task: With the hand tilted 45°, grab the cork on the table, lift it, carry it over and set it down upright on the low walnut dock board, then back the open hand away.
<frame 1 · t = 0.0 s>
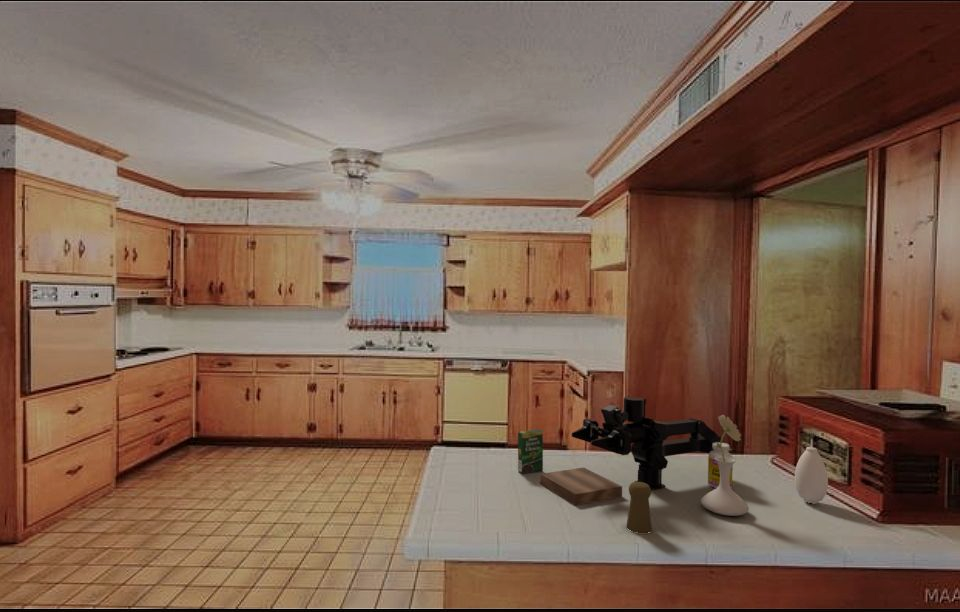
hand: (581, 438, 145), 17 cm above the counter, tool horizontal, fingers open, 9 cm apart
cork: (639, 529, 125), on the counter
supplement bottle: (719, 487, 155), on the counter
walnut dock: (579, 490, 151), on the counter
flower in vase: (723, 510, 138), on the counter
sauce bottle: (810, 503, 143), on the counter
coffee box: (530, 472, 167), on the counter
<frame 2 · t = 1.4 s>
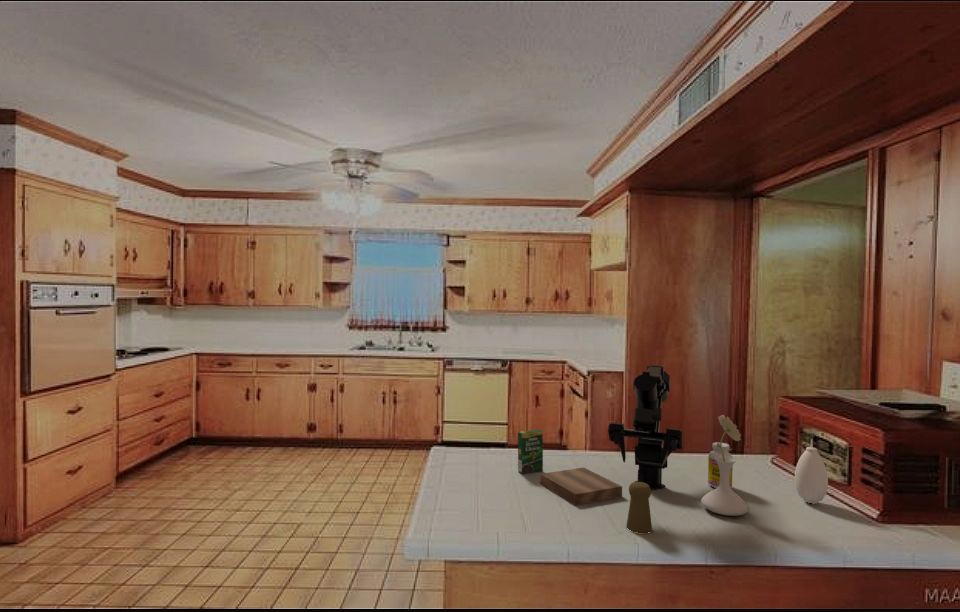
hand: (642, 464, 133), 13 cm above the counter, tool tilted 45°, fingers open, 9 cm apart
nothing on the counter moved.
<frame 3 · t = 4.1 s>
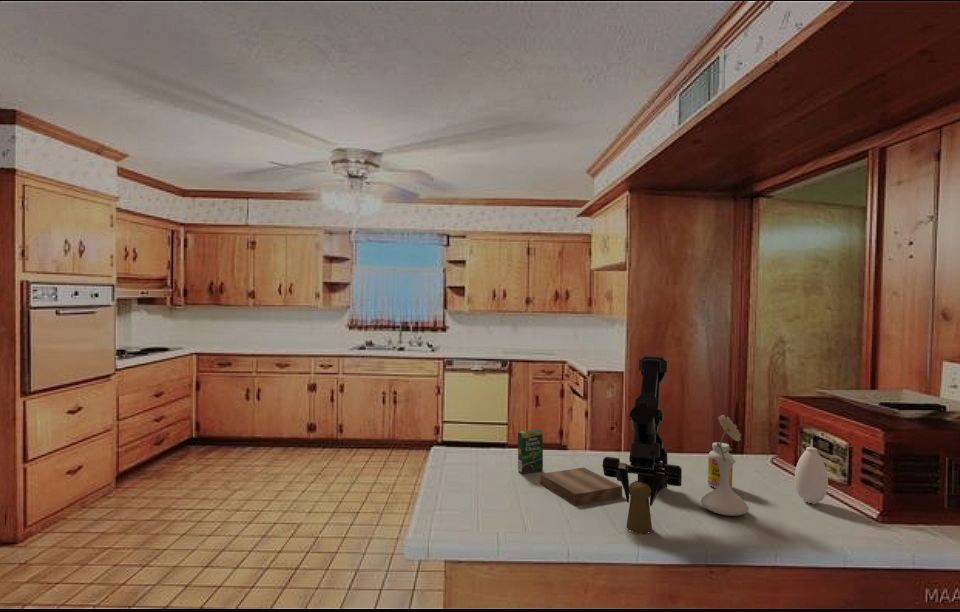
hand: (639, 503, 124), 7 cm above the counter, tool tilted 45°, fingers closed on cork, 5 cm apart
cork: (639, 529, 125), on the counter, touching gripper
everything else where it was.
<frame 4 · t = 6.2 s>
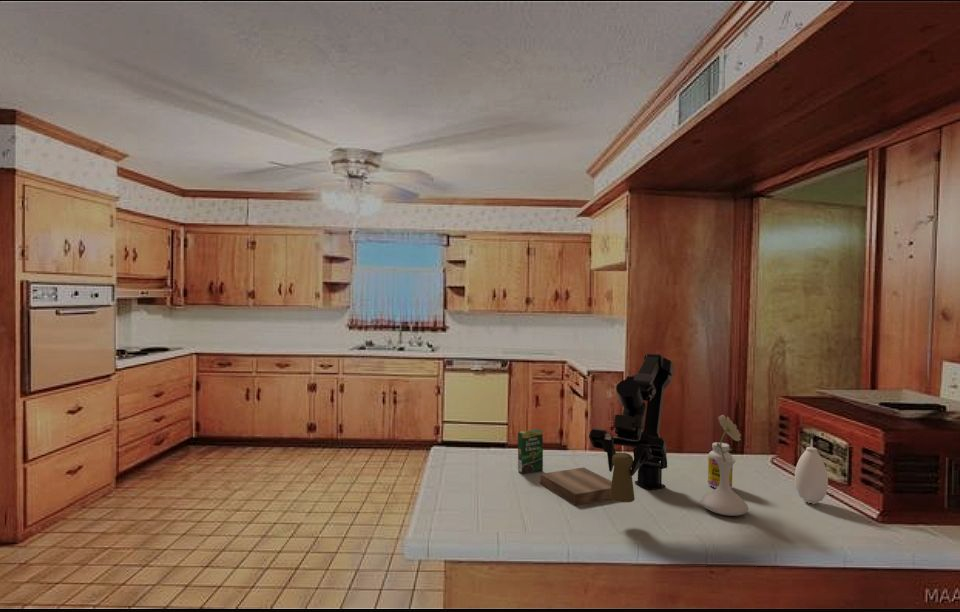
hand: (620, 472, 127), 13 cm above the counter, tool tilted 45°, fingers closed on cork, 5 cm apart
cork: (622, 498, 129), point 6 cm above the counter, touching gripper
everything else where it was.
when the fingers open (11 cm above the counter, at t = 8.6 s): cork drops 1 cm, resting on walnut dock.
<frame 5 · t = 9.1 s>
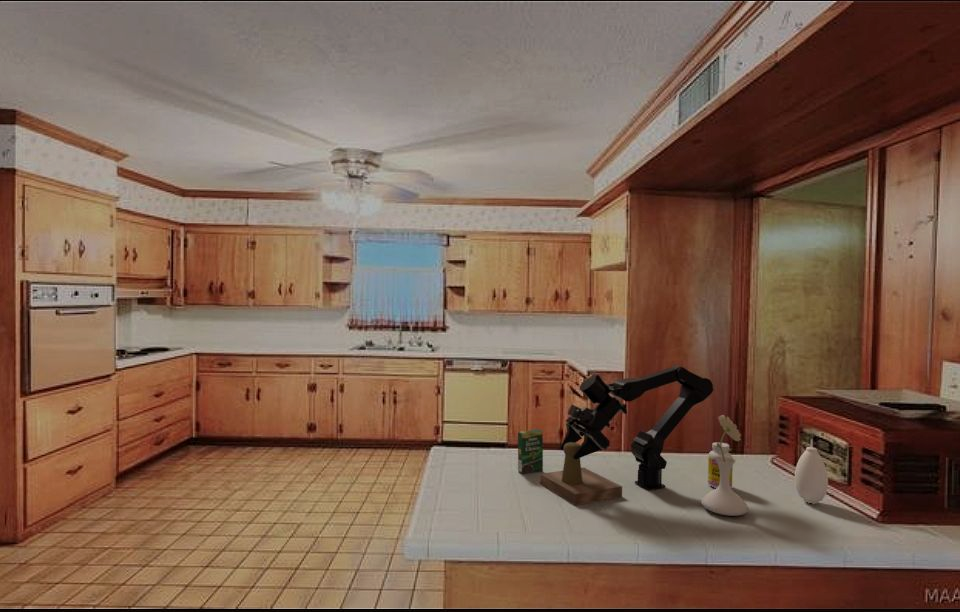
hand: (567, 453, 149), 11 cm above the counter, tool tilted 45°, fingers open, 9 cm apart
cork: (572, 481, 149), point 3 cm above the counter, touching walnut dock
everything else where it was.
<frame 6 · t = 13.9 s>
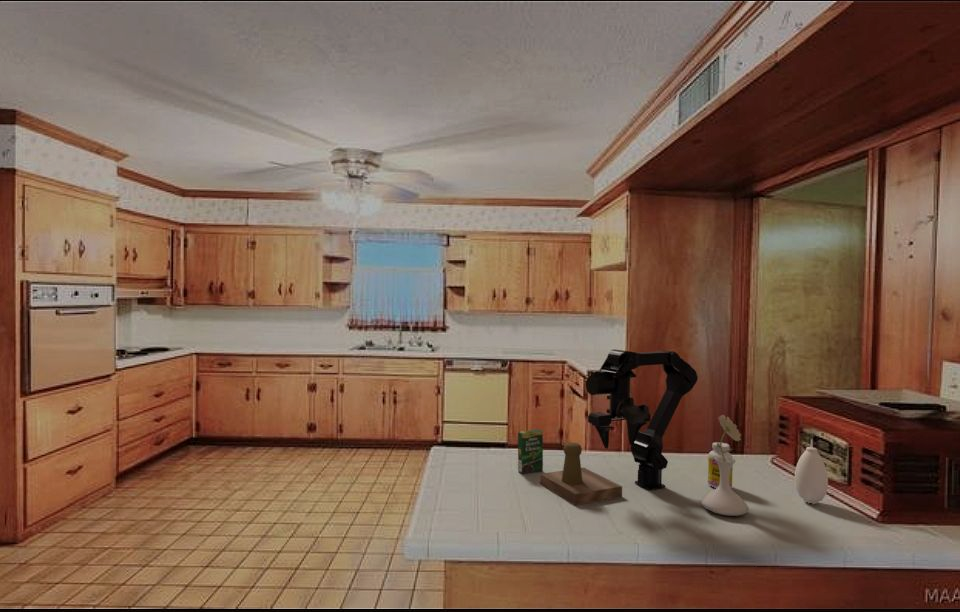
hand: (619, 446, 150), 13 cm above the counter, tool pointing down, fingers open, 9 cm apart
nothing on the counter moved.
at the end: cork inside the target area on the walnut dock (2.9 cm from its centre), point 2.8 cm above the walnut dock's base; cork tilted 0°; the gripper is holding nothing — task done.
